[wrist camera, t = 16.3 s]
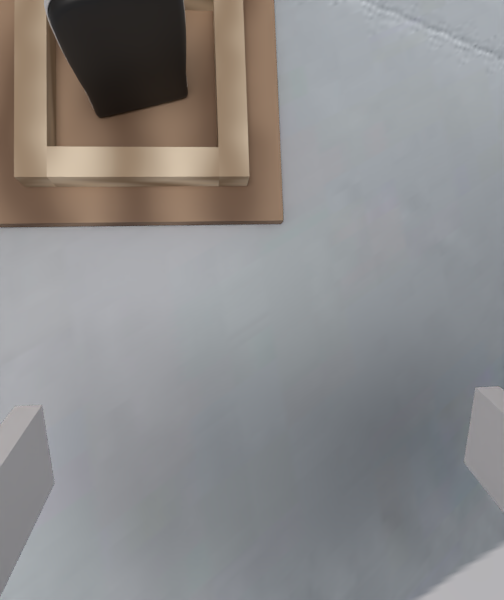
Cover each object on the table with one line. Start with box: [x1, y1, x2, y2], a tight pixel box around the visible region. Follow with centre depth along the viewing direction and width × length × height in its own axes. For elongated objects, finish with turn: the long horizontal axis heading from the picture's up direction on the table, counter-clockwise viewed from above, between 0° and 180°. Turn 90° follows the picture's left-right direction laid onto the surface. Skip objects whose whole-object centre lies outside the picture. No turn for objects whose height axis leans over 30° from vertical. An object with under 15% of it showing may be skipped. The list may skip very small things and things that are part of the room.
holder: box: [0, 0, 283, 227], centre depth 33 cm, size 20×20×3 cm
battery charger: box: [44, 0, 188, 117], centre depth 28 cm, size 7×4×11 cm, turn 107°
